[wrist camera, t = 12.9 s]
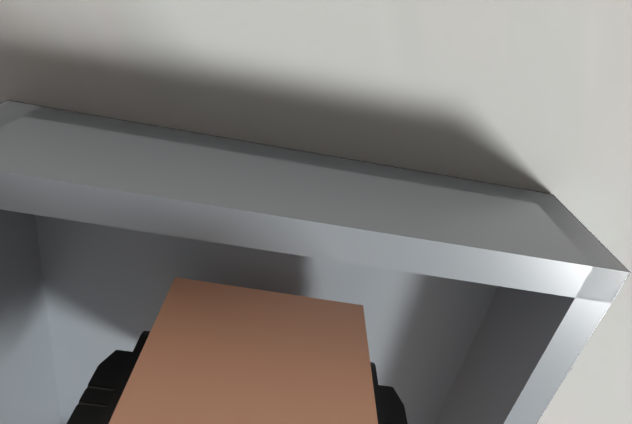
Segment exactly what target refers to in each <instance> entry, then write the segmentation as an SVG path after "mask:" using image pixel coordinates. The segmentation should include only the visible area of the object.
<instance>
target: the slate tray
mask: <svg viewBox="0 0 632 424" xmlns="http://www.w3.org/2000/svg"><path fill="white" fill-rule="evenodd" d="M630 273H631V272H630V271H629V270H628V269H627V268H626V267H625V266H624V265H623V264H622V263H621V262H620V261H619V260H618V259H617V258H616V257H615V256H614V255H613V254H612V253H611V252H610V251H609V250H608V249H607V248H606V247H605V246H604V245H603V244H602V243H601V242H600V241H599V240H598V239H597V238H596V237H595V236H594V235H593V234H592V233H591V232H590V231H589V230H588V229H587V228H586V227H585V226H584V225H583V224H582V223H581V222H580V221H579V220H578V219H577V218H576V217H575V216H574V215H573V214H572V213H571V212H570V211H569V210H568V209H567V208H566V207H565V206H564V205H563V204H562V203H561V202H560V201H559V200H558V199H557V198H556V197H555V196H554V195H553V194H548V193H542V192H536V191H530V190H525V189H519V188H513V187H507V186H501V185H496V184H490V183H484V182H478V181H472V180H466V179H461V178H455V177H449V176H443V175H437V174H432V173H426V172H420V171H414V170H408V169H403V168H397V167H391V166H385V165H379V164H373V163H368V162H362V161H356V160H350V159H344V158H339V157H333V156H327V155H321V154H315V153H309V152H304V151H298V150H292V149H286V148H280V147H275V146H269V145H263V144H257V143H251V142H245V141H240V140H234V139H228V138H222V137H216V136H211V135H205V134H199V133H193V132H187V131H182V130H176V129H170V128H164V127H158V126H152V125H147V124H141V123H135V122H129V121H123V120H118V119H112V118H106V117H100V116H94V115H88V114H83V113H77V112H71V111H65V110H59V109H54V108H48V107H42V106H36V105H30V104H25V103H19V102H13V101H5V102H2V103H0V424H67V422H68V420H69V418H70V416H71V415H72V413H73V411H74V409H75V407H76V405H78V403H79V400H80V398H81V396H82V394H83V392H84V391H85V389H87V387H88V383H89V381H90V380H91V378H92V376H93V374H94V372H95V370H96V369H97V367H98V365H99V364H100V363H101V362H103V361H104V360H105V359H106V358H107V357H108V356H109V355H111V354H112V353H113V352H114V351H115V350H123V351H131V352H133V350H134V348H135V346H136V344H137V341H138V339H139V337H140V335H141V334H142V332H143V331H151V329H152V327H153V325H154V322H155V320H156V318H157V316H158V314H159V311H160V309H161V307H162V305H163V303H164V300H165V298H166V296H167V294H168V292H169V289H170V287H171V285H172V283H173V281H174V278H175V277H178V278H185V279H191V280H198V281H205V282H211V283H218V284H225V285H231V286H238V287H245V288H251V289H258V290H265V291H271V292H278V293H285V294H291V295H298V296H305V297H311V298H318V299H325V300H331V301H338V302H345V303H351V304H358V305H363V309H364V317H365V325H366V332H367V340H368V348H369V356H370V362H374V363H375V366H376V371H377V379H378V385H383V386H390V387H393V388H394V390H395V391H396V393H397V394H398V396H399V398H400V399H401V401H402V403H403V404H404V407H405V412H406V418H407V423H408V424H537V422H538V421H539V419H540V417H541V416H542V414H543V413H544V411H545V409H546V408H547V406H548V405H549V403H550V401H551V400H552V398H553V396H554V395H555V393H556V392H557V390H558V388H559V387H560V385H561V384H562V382H563V380H564V379H565V377H566V376H567V374H568V372H569V371H570V369H571V368H572V366H573V364H574V363H575V361H576V359H577V358H578V356H579V355H580V353H581V351H582V350H583V348H584V347H585V345H586V343H587V342H588V340H589V339H590V337H591V335H592V334H593V332H594V331H595V329H596V327H597V326H598V324H599V323H600V321H601V319H602V318H603V316H604V314H605V313H606V311H607V310H608V308H609V306H610V305H611V303H612V302H613V300H614V298H615V297H616V295H617V294H618V292H619V290H620V289H621V287H622V286H623V284H624V282H625V281H626V279H627V277H628V276H629V274H630Z"/></svg>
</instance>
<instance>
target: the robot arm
mask: <svg viewBox="0 0 632 424" xmlns="http://www.w3.org/2000/svg"><path fill="white" fill-rule="evenodd" d="M149 333H150V331H143V332H142V334H141V335H140V337H139V339H138V341H137V344H136V346H135V348H134V350H133V352H131V351H123V350H115V351H114V352H113V353H112V354H111V355H109V356H108V357H107V358H106V359H105V360H104V361H103V362H101V363H100V364H99V365H98V367H97V369H96V370H95V372H94V374H93V376H92V378H91V380H90V381H89V383H88V387H87V389H85V391H84V392H83V394H82V396H81V398H80V400H79V403H78V405H76V407H75V409H74V411H73V413H72V415H71V416H70V418H69V420H68V422H67V424H109V422H110V420H111V417H112V415H113V413H114V411H115V409H116V406H117V404H118V402H119V400H120V397H121V395H122V393H123V391H124V389H125V386H126V384H127V382H128V380H129V378H130V375H131V373H132V371H133V369H134V367H135V364H136V362H137V360H138V358H139V356H140V353H141V351H142V349H143V347H144V345H145V342H146V340H147V338H148V336H149ZM370 364H371V372H372V380H373V388H374V396H375V403H376V411H377V419H378V424H408V423H407V418H406V412H405V407H404V404H403V403H402V401H401V399H400V398H399V396H398V394H397V393H396V391H395V390H394V388H393V387H390V386H383V385H378V379H377V371H376V366H375V363H374V362H370Z"/></svg>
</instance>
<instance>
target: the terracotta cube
mask: <svg viewBox="0 0 632 424" xmlns="http://www.w3.org/2000/svg"><path fill="white" fill-rule="evenodd" d="M109 424H378V419H377V411H376V403H375V396H374V388H373V380H372V372H371V364H370V356H369V348H368V340H367V332H366V325H365V317H364V309H363V305H358V304H351V303H345V302H338V301H331V300H325V299H318V298H311V297H305V296H298V295H291V294H285V293H278V292H271V291H265V290H258V289H251V288H245V287H238V286H231V285H225V284H218V283H211V282H205V281H198V280H191V279H185V278H178V277H175V278H174V281H173V283H172V285H171V287H170V289H169V292H168V294H167V296H166V298H165V300H164V303H163V305H162V307H161V309H160V311H159V314H158V316H157V318H156V320H155V322H154V325H153V327H152V329H151V331H150V333H149V336H148V338H147V340H146V342H145V345H144V347H143V349H142V351H141V353H140V356H139V358H138V360H137V362H136V364H135V367H134V369H133V371H132V373H131V375H130V378H129V380H128V382H127V384H126V386H125V389H124V391H123V393H122V395H121V397H120V400H119V402H118V404H117V406H116V409H115V411H114V413H113V415H112V417H111V420H110V422H109Z"/></svg>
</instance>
